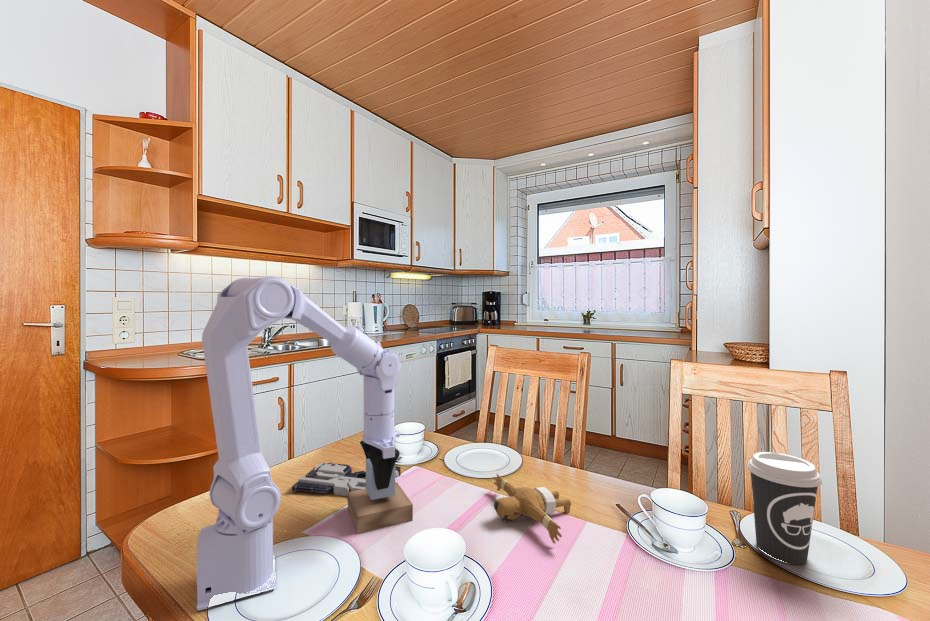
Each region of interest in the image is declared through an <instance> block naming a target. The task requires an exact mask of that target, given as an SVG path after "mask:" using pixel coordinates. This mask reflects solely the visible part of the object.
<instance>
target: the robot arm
mask: <svg viewBox="0 0 930 621" xmlns="http://www.w3.org/2000/svg"><path fill="white" fill-rule="evenodd" d="M216 300H217V301H216V304H215V306H214V308H213V311H212V313H211V314H210V317H209V319H208V321H207V323H206V325H205V326H204V329H203V331H202V335H201V342H202V348H203V349H202V350H203V356H204V365H205V370H206V376H207V378H206V379H207V385H208V392H209V398H210V404H211V405H210V406H211V413H212V421H213V426H214V432H215V441H216V448H217V454H218V455H217V456H218V460H217V461H216V462H215V463H214V464H213V467H212V469H213V479H212V482H211V486H210V488H209V500H210V502H211V504H212V505H213V506H214V507H215V508H217V509H218V514H217V516H216V521H215V523H213V524H211V525H207V526H205V527H202V528H200V530H199V533H198V534H199V535H198V539H197V547H196V548H197V550H196V579H195V580H196V594H197V596H196V597H197V600H196V610H197V611H199V612H200V611H203V610H206V609H208V608H207V607H208V603H209V601H210V599H211V598H212V597H213V596H214V595H218V594H223V593H228V592H236V593H239V594H241V593H244V594H249V593H250V591H253V590H254V591H255V589H256V588H257V589H258V587H259V590H257V589H256V591H257V592H258V591H262V590H265V589H269V588H270V587H271V588H272V587H273V588H274V587H275V586H276V585H275V584H276V581H277V579H276V580H275V578H274V580H275V583H274V580H273V582H272V580H271V582H270V580H269V582H267V580H268V579H269V578H271V575H272V573H273V555H274V524H273V523H274V519H273V518H274V517H275V516H276V514H277V512H278V510H279V508H280V505H281V500H282V494H281V491H280V488H279V487H278V486H277V484H275V482H274V480H273V478H272V472H271V469H270V467H269V465H268V463H267V461H266V459H265V458H264V456H263V454H262V450H261V442H260V434H259V428H258V420H257V411H256V405H255V395H254V388H253V387H254V386H253V380H252V373H251V372H252V371H251V365H250V363H251V362H250V356H249V350H248V347H249V344H251V343H252V342H253V340H255V338H257V336H258V335H259V334H260V333H262V331H263V330H264V329H266V328H268V327H270V326H272V325H274V324H276V323H277V322H279V321H281V320H286V319H287V320H292V321H294V322H296V323H297V324H299V325H301V326H303V327H305V328H306V329H308V330H310V331H311V332H313V333H314V334H316V335H317V336H320V337H321V338H323V339H324V340H326V341H327V342H330V348H331V351H332V353H333V354H335V355H336V356H338V357H339V358H341V359H342V360H344V361H345V362H347V363H349V364H350V365H352V366H353V367H354V368H356V370H357V373H358V374H359V376H363V434H362V440H361V441H360V442H359V444H360V447H361V448H362V450H363V452H364V456H365V460H366V459H370V461H371V463H372V467H373V471H374V478H375V484H376V488H377V490H380V489H385V488H388V487H389V484H390V479H391V475H392V471H393V467H394V465H395V466H396V462H397V461H398V459H399V457H400V454H401V453H400V450H398V449H396V446H395V441H396V438H401V432H400V430H395V388H396V386H397V379H398V376H399V375H400V372H401V369H402V362H400V358H399V357H398V355H397V354H396V352H394V351H393V350H391V349H386V348H383V346H382V343H381V342H379V341H378V340H373V339H372V338H370V337H369V336H368V335H367V334H365V333H364V332H365V329H364V328H363V327H362V326H356V325H346V326H342V325H341V324H340V323H339V322H338V321H337V320H335V319H334V318H333V317H332V316H330V315H329V314H328V313H326V311H324V310H323V309H322V308H320V306H318V305H317V304H316V303H314V302H313V300H311V299H310V298H308V297H307V296H306V295H305V294H304V293H303V292H302V291H301V289H299V288H298V287H295V286H293V285H290V284H289V283H288V282H287V281H286V280H285V279H283V278H281V277H278V276H275V275H266V276H263V277H253V278H252V277H241V278H237V279H234V281H232V282H231V283H229V284H228V285H226V287H225V288H223V289H222V290H221V291H220V292H218V293H217V298H216ZM274 573H275V572H274ZM274 576H275V575H274ZM272 579H273V578H272ZM266 582H267V584H268V583H269V584H270V585H271V584H272V585H271V586H270V587H269V588H267V585H266V587H265V585H264V587H263V584H264V583H266ZM269 584H268V585H269ZM273 584H274V585H273ZM260 586H262V587H263V588H262V587H261V589H260ZM247 592H248V593H247ZM251 593H252V592H251ZM253 593H254V592H253Z"/></svg>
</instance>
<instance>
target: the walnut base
mask: <svg viewBox="0 0 930 621" xmlns="http://www.w3.org/2000/svg"><path fill="white" fill-rule="evenodd" d="M413 507H414V506H413V503H412V501H411V500H410V498H409V497H408V495H407V494H406V493H405V492H404V490H403V488H402V487H401V486H400V485H399V482H396V481H395V495H394V496H389V497H384V498H379V499H375V500H371V499H370V497H369V495H368V493H367V491H366V489H361V490H356V491H351V492H348V496H347V509H348V512H349V514H350V517H351V519H352V522H353V525H354V528H355V529H356V532H357V535H359V534H363V533H366V532H367V533H368V532H371V531H375V530H379V529H382V528H387V527H390V526H391V527H392V526H396V525H398V524H402V523H407V522H411V521H414V518H413V517H414V515H413V514H414V513H413V512H414V511H413V510H414V508H413Z"/></svg>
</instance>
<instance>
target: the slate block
mask: <svg viewBox="0 0 930 621" xmlns="http://www.w3.org/2000/svg"><path fill="white" fill-rule="evenodd" d="M395 466H396V464H395V465H394V467H393V471H392V475H391V479H390V484H389V487H388V488H385V489H380V490H377V488H376V484H375V478H374V471H373V467H372V463H371V461H370V459H366V458H365V472H366V478H365V479H366V491H367V493H368V495H369V497H370V499H371V500H375V499H379V498H384V497H389V496H394V495H395V483H396V479H395Z"/></svg>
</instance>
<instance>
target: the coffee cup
mask: <svg viewBox="0 0 930 621" xmlns="http://www.w3.org/2000/svg"><path fill="white" fill-rule="evenodd" d="M746 469H747V470H748V471H749V472H750V481H751V492H752V503H753V506H752V507H753V513H754V514H753V515H754V516H753V517H754V528H755V529H754V531H755V541H756V542H755V543H756V544H755V545H756V547H757V546H758V547H759V548H760V549H761V550H763V551H764V552H766V553H767V554H769V555H771V556H772V557H774V558H776V559H779V560H782V561H784V562H787V563H790V564H789V565H791V564H793V566H800V565H805V564H806V563H807V562H808V557H809V550H810V549H809V548H810V543H811V536H812V530H813V529H812V528H813V521H814V513H815V508H816V500H817V493H818V487H820V486H822V485H823V480H822V477H821V475H820V473H819V472H818V471H817V468H816V465H814V464H813V463H812V462H810V461H808V460H806V459H803V458H800V457H797V456H794V455H790V454H787V453H782V452H781V453H779V452H772V451H760V452H756V453H753V455H752V458H751V459H749V461H748V462H747V466H746Z"/></svg>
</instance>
